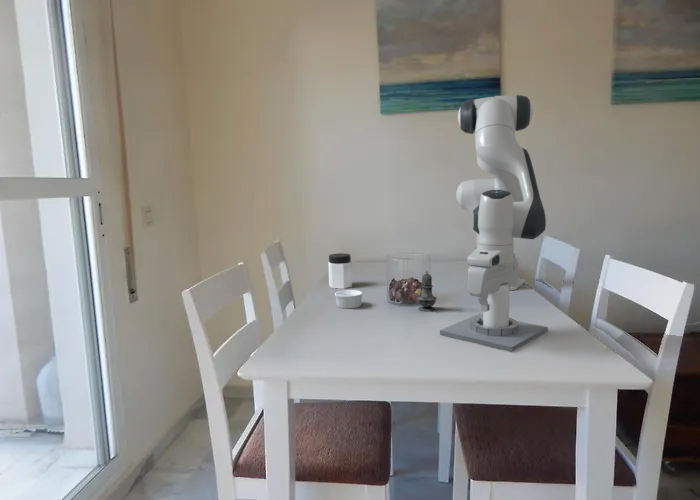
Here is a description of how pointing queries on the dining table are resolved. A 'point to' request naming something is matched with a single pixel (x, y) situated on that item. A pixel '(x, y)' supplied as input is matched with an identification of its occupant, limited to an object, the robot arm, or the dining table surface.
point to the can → (498, 308)
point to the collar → (493, 331)
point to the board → (500, 342)
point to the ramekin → (348, 299)
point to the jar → (340, 271)
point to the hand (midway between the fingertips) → (494, 307)
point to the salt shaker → (427, 294)
